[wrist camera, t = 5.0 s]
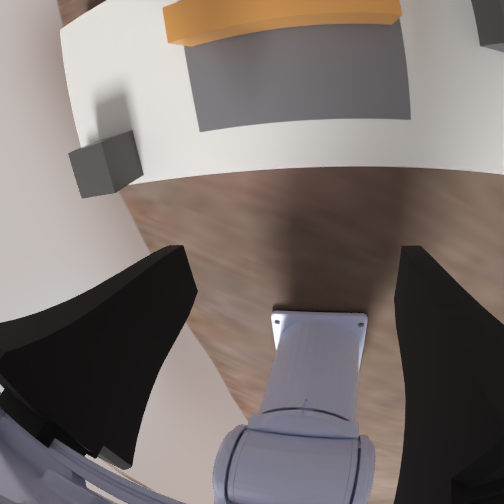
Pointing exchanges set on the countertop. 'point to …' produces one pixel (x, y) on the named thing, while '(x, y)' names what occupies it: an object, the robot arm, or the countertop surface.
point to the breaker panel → (290, 92)
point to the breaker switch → (267, 16)
